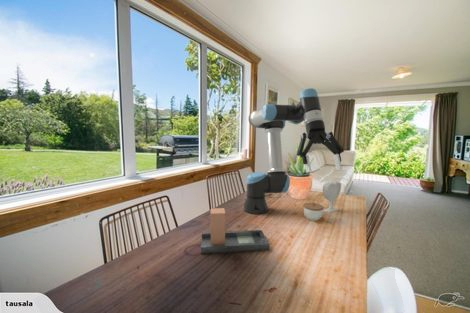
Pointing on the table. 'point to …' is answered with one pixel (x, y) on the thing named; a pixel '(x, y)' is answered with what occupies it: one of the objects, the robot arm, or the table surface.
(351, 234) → the table surface
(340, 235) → the table surface
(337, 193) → the heart sculpture
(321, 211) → the lidded jar
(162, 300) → the table surface
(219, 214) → the terracotta block
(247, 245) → the grey tray
